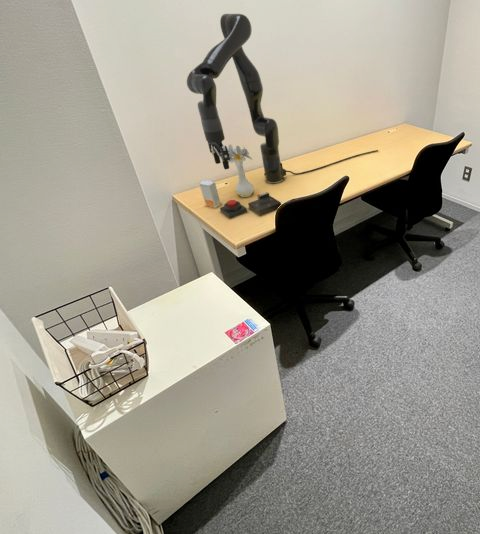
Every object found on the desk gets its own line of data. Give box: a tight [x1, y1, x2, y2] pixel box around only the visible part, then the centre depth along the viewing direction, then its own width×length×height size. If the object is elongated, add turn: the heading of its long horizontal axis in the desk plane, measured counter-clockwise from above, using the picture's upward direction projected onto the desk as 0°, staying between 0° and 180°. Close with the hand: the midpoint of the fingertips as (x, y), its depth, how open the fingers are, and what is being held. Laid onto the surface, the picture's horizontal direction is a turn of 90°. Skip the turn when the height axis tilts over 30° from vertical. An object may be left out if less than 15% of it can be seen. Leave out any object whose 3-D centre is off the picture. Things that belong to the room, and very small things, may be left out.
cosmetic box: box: [198, 179, 222, 209], centre depth 158 cm, size 6×4×12 cm
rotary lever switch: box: [247, 194, 282, 217], centre depth 159 cm, size 12×10×3 cm
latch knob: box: [256, 191, 270, 205], centre depth 156 cm, size 6×2×5 cm, turn 134°
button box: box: [219, 200, 248, 220], centre depth 155 cm, size 9×9×4 cm
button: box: [226, 199, 237, 207], centre depth 154 cm, size 4×4×2 cm
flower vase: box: [227, 143, 255, 198], centre depth 163 cm, size 13×18×25 cm
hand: (222, 166), depth 147 cm, fingers open, 8 cm apart
